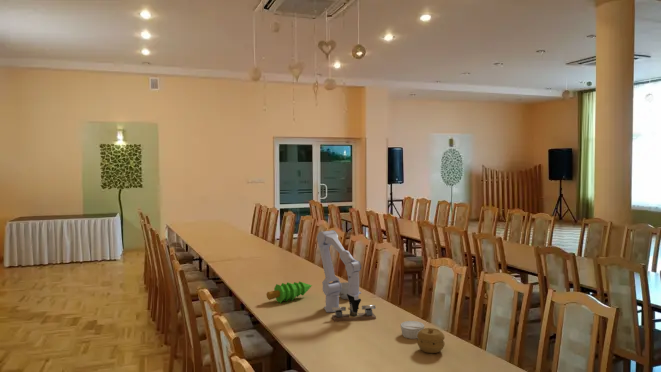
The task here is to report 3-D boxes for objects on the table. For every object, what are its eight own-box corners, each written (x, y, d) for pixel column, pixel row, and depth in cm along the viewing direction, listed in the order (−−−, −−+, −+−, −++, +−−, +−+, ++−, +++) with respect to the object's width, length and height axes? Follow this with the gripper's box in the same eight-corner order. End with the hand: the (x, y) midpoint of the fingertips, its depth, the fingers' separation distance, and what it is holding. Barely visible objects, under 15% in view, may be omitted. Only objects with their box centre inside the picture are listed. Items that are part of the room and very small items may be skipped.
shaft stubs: (331, 315, 255) (331, 306, 255) (374, 313, 259) (374, 303, 259) (332, 318, 252) (332, 308, 251) (376, 315, 255) (376, 306, 255)
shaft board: (332, 317, 257) (332, 314, 257) (372, 314, 261) (372, 311, 260) (334, 321, 250) (334, 318, 250) (375, 318, 254) (375, 316, 254)
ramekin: (406, 341, 222) (406, 330, 222) (396, 333, 233) (396, 322, 233) (428, 338, 225) (428, 327, 225) (417, 330, 236) (417, 319, 236)
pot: (440, 345, 217) (440, 323, 216) (447, 356, 205) (448, 332, 204) (414, 346, 216) (414, 324, 216) (420, 356, 205) (420, 333, 204)
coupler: (347, 314, 256) (347, 303, 256) (358, 313, 258) (357, 302, 257) (349, 317, 253) (349, 305, 252) (360, 315, 254) (360, 304, 254)
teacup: (340, 302, 284) (340, 288, 283) (332, 296, 295) (332, 283, 295) (363, 298, 290) (363, 285, 289) (354, 293, 301) (354, 280, 301)
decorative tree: (265, 282, 283) (309, 273, 300) (263, 298, 287) (306, 288, 304) (274, 293, 275) (318, 283, 291) (271, 310, 279) (315, 298, 296)
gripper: (364, 287, 248) (364, 313, 249) (358, 280, 262) (358, 305, 263) (350, 288, 247) (350, 314, 247) (345, 281, 261) (345, 305, 262)
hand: (353, 309), depth 255 cm, fingers open, 7 cm apart
